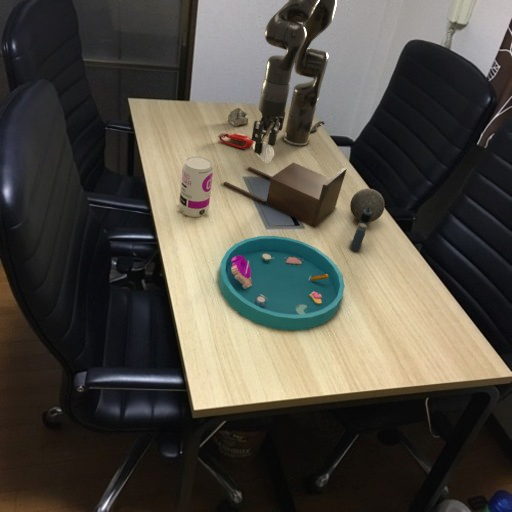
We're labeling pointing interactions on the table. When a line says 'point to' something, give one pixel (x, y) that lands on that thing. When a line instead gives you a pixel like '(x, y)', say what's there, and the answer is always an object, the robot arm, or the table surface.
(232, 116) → the grey brown rock
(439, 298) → the table surface
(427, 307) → the table surface
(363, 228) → the vaping device
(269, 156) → the pincushion
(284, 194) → the box with long handles
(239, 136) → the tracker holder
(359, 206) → the decorative ball
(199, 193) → the supplement can
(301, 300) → the round teal tray
